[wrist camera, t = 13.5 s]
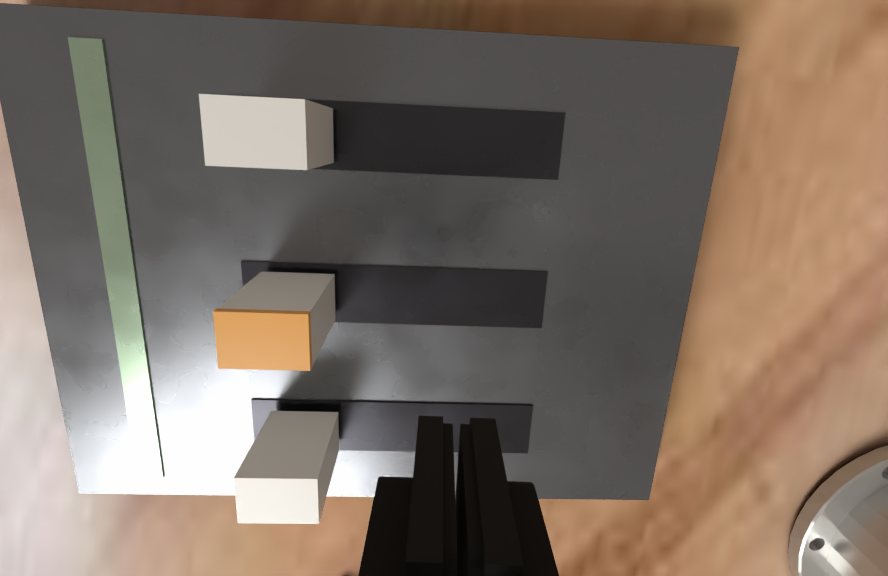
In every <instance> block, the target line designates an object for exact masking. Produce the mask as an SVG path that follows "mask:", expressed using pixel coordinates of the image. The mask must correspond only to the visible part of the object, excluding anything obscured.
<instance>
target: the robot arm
mask: <svg viewBox="0 0 888 576" xmlns="http://www.w3.org/2000/svg"><path fill="white" fill-rule="evenodd" d="M788 557H789V566H790V570H791V573H792V575H793V576H888V445H887V446H884V447H880V448H877V449H875V450H873V451H871V452H868V453H866V454H864V455H862V456H860V457H858V458H856V459H854V460H853V461H851V462H850V463H848V464H846V465H845V466H843V467H842V468H840V469H839V470H837V471H836V472H835V473H834V474H833V475H831V476H830V477H829V478H828V479H827V480H826V481H825V482H823V483H822V484H821V485H820V486H819V487H818V488H817V490H816V491H815V492H814V493H813V494H812V496H811V497H810V498H809V499H808V500H807V502H806V503H805V505H804V507H803V508H802V510H801V512H800V513H799V515H798V517H797V519H796V522H795V524H794V527H793V530H792V533H791V535H790V542H789V549H788ZM359 576H559V574H558V571H557V567H556V563H555V560H554V556H553V552H552V548H551V545H550V541H549V537H548V534H547V530H546V526H545V523H544V519H543V515H542V512H541V508H540V504H539V500H538V497H537V493H536V489H535V487H534V484H533V483H532V482H517V481H507V477H506V471H505V466H504V461H503V456H502V451H501V446H500V440H499V435H498V430H497V425H496V420H495V419H494V418H470V421H469V424H460V434H459V450H458V466H457V482H456V499H455V474H454V445H453V424H451V423H443V416H419V418H418V429H417V440H416V451H415V461H414V472H413V478H412V477H386V476H379V478H378V481H377V485H376V491H375V496H374V501H373V506H372V511H371V516H370V521H369V526H368V531H367V536H366V541H365V546H364V551H363V556H362V561H361V566H360V571H359Z"/></svg>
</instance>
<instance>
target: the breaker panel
mask: <svg viewBox="0 0 888 576" xmlns="http://www.w3.org/2000/svg"><path fill="white" fill-rule="evenodd" d="M738 50H739V47H730V46H713V45H696V44H679V43H662V42H645V41H628V40H612V39H595V38H578V37H561V36H544V35H527V34H511V33H494V32H477V31H460V30H443V29H426V28H409V27H393V26H376V25H359V24H342V23H325V22H308V21H292V20H275V19H258V18H241V17H224V16H207V15H191V14H174V13H157V12H140V11H123V10H106V9H89V8H73V7H56V6H39V5H22V4H5V3H0V102H1V107H2V112H3V117H4V122H5V127H6V132H7V137H8V142H9V147H10V152H11V157H12V162H13V167H14V172H15V177H16V182H17V187H18V192H19V196H20V201H21V206H22V211H23V216H24V221H25V226H26V231H27V236H28V241H29V246H30V251H31V256H32V261H33V266H34V271H35V276H36V281H37V286H38V291H39V296H40V301H41V306H42V311H43V316H44V321H45V326H46V331H47V336H48V341H49V346H50V351H51V356H52V361H53V366H54V371H55V376H56V381H57V386H58V391H59V396H60V401H61V406H62V411H63V416H64V421H65V426H66V431H67V436H68V441H69V446H70V451H71V456H72V461H73V466H74V471H75V476H76V481H77V486H78V491H79V493H88V494H176V495H235V487H234V476H235V475H236V473H237V471H238V469H239V468H240V466H241V464H242V462H243V460H244V459H245V457H246V455H247V453H248V451H249V450H250V448H251V446H252V444H253V442H254V441H255V439H256V437H257V435H258V433H259V432H260V430H261V428H262V426H263V425H264V423H265V421H266V419H267V417H268V416H269V414H270V412H271V411H306V412H338V424H339V452H338V456H337V459H336V463H335V467H334V470H333V474H332V478H331V481H330V485H329V489H328V492H327V496H352V497H374V496H375V491H376V485H377V481H378V478H379V476H386V477H412V478H413V472H414V461H415V451H416V440H417V429H418V418H419V416H443V423H451V424H453V445H454V474H455V498H456V482H457V466H458V450H459V434H460V424H469V421H470V418H494V419H495V420H496V425H497V430H498V435H499V440H500V446H501V451H502V456H503V461H504V466H505V471H506V477H507V481H517V482H532V483H533V484H534V487H535V489H536V493H537V497H538V499H616V500H649V497H650V492H651V487H652V482H653V477H654V472H655V467H656V462H657V456H658V451H659V446H660V441H661V436H662V431H663V426H664V421H665V416H666V411H667V406H668V401H669V396H670V391H671V386H672V381H673V376H674V371H675V366H676V361H677V356H678V351H679V346H680V341H681V336H682V331H683V326H684V321H685V316H686V311H687V306H688V301H689V296H690V291H691V286H692V281H693V276H694V271H695V266H696V261H697V256H698V251H699V246H700V241H701V236H702V231H703V226H704V221H705V216H706V211H707V206H708V201H709V196H710V191H711V186H712V181H713V176H714V171H715V166H716V161H717V156H718V151H719V146H720V141H721V135H722V130H723V125H724V120H725V115H726V110H727V105H728V100H729V95H730V90H731V85H732V80H733V75H734V70H735V65H736V60H737V55H738ZM199 94H212V95H231V96H250V97H270V98H289V99H306V100H309V101H312V102H315V103H318V104H321V105H324V106H327V107H330V108H333V143H334V163H331V164H328V165H324V166H320V167H317V168H313V169H310V170H291V169H268V168H246V167H223V166H205V158H204V147H203V136H202V125H201V114H200V103H199ZM260 272H289V273H318V274H335V321H334V323H333V325H332V327H331V329H330V331H329V333H328V335H327V338H326V340H325V342H324V344H323V346H322V348H321V350H320V352H319V354H318V356H317V358H316V360H315V362H314V364H313V366H312V368H311V370H310V371H295V370H254V369H218V361H217V350H216V340H215V329H214V318H213V311H214V310H215V309H216V308H218V307H219V306H220V305H221V304H223V303H224V302H225V301H226V300H227V299H229V298H230V297H231V296H232V295H233V294H235V293H236V292H237V291H238V290H240V289H241V288H242V287H243V286H244V285H246V284H247V283H248V282H249V281H250V280H252V279H253V278H254V277H255V276H256V275H258V274H259V273H260Z"/></svg>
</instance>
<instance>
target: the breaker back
mask: <svg viewBox="0 0 888 576" xmlns="http://www.w3.org/2000/svg"><path fill="white" fill-rule="evenodd" d="M338 452H339V424H338V412H306V411H271V412H270V414H269V416H268V417H267V419H266V421H265V423H264V425H263V426H262V428H261V430H260V432H259V433H258V435H257V437H256V439H255V441H254V442H253V444H252V446H251V448H250V450H249V451H248V453H247V455H246V457H245V459H244V460H243V462H242V464H241V466H240V468H239V469H238V471H237V473H236V475H235V476H234V487H235V498H236V509H237V520H238V523H274V524H319V522H320V518H321V514H322V511H323V507H324V503H325V500H326V496H327V492H328V489H329V485H330V481H331V478H332V474H333V470H334V467H335V463H336V459H337V456H338Z"/></svg>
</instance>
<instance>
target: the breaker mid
mask: <svg viewBox="0 0 888 576" xmlns="http://www.w3.org/2000/svg"><path fill="white" fill-rule="evenodd" d="M213 318H214V329H215V340H216V350H217V361H218V369H254V370H295V371H310V370H311V368H312V366H313V364H314V362H315V360H316V358H317V356H318V354H319V352H320V350H321V348H322V346H323V344H324V342H325V340H326V338H327V335H328V333H329V331H330V329H331V327H332V325H333V323H334V321H335V274H318V273H289V272H260V273H259V274H258V275H256V276H255V277H254V278H253V279H252V280H250V281H249V282H248V283H247V284H246V285H244V286H243V287H242V288H241V289H240V290H238V291H237V292H236V293H235V294H233V295H232V296H231V297H230V298H229V299H227V300H226V301H225V302H224V303H223V304H221V305H220V306H219V307H218V308H216V309H215V310H214V311H213Z"/></svg>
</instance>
